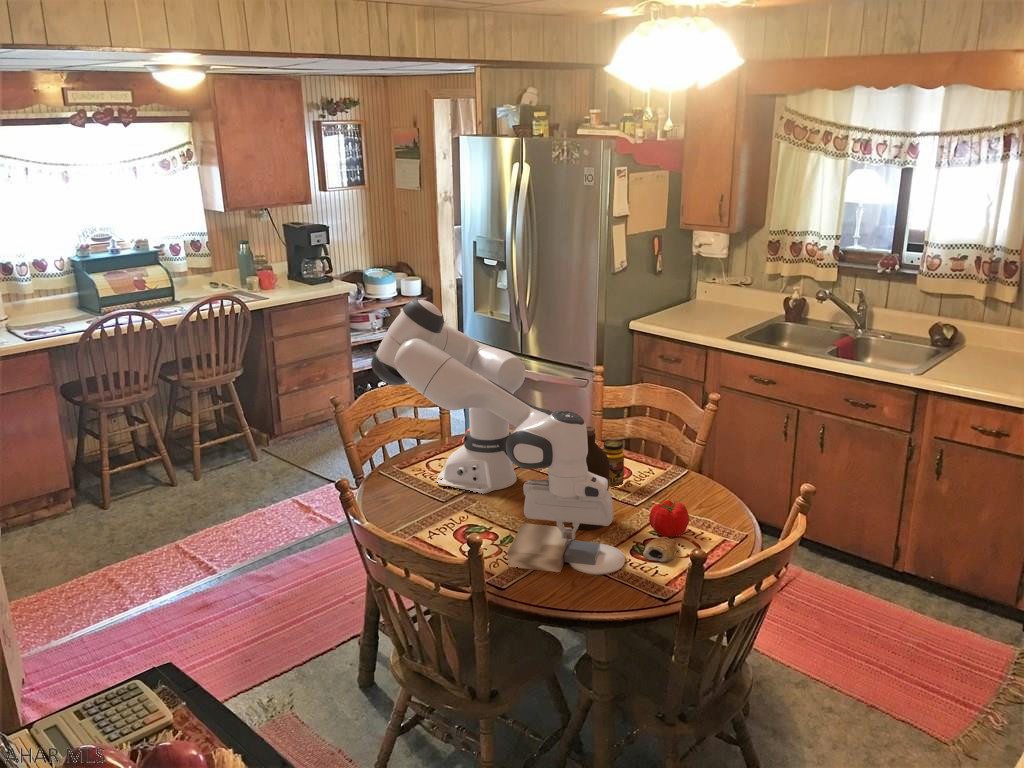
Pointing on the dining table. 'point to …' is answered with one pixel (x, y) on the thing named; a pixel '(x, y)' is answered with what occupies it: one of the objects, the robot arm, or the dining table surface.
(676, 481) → the dining table surface
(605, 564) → the plate
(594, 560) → the grey rounded eraser
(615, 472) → the condiment
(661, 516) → the tomato
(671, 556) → the pastry
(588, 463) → the olive oil
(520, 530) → the beige flat square block
